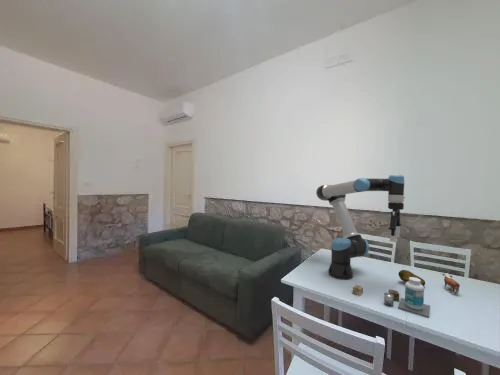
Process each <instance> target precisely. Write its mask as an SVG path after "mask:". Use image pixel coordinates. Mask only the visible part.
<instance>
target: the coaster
mask: <svg viewBox="0 0 500 375" xmlns="http://www.w3.org/2000/svg"><path fill="white" fill-rule="evenodd" d="M397 309H399V310H401V311H404V312H407V313H411V314H414V315H417V316H420V317H423V318H424V317H425V318H427V319H429V318H430V311H431V305H429V304H425V303H424V304H423V309H421V310H416V309H412V308H410V307H408V306H407V305H406V304H405V297H401V298H400V299H399V303H398V305H397Z"/></svg>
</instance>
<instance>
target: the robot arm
mask: <svg viewBox="0 0 500 375" xmlns="http://www.w3.org/2000/svg"><path fill="white" fill-rule="evenodd" d="M362 192H363V193H364V192H388V195H387V197H388V198H387V201H388V202H387V208H388V209H389V210H392V211H390V222H389V223H390V224H389V227H388V230H390V231H389V242H393V243H396V242H397V238H400V234H401V233H400V232H401V231H400V230H401V228H400V227H402V224H401V211H402V210H404V206H405V204H404V202H405V198H406V196H405V175H403V174H390V175H389V176H388V178H365V177H360V178H357V179H356V180H351V181H347V182H345V181H344V182H341V183H335V184H323V185H320V186H318V187H317V189H316V193H315V195H316V197H317V198H318V199H319V200H321V201H324V202H325V201H328V203H329V205H330V206H332V208H333V209H334V213H335V215H336V218H337V220H338V222H339V225H340V228H341V230H342V232H343V236H344V237H338V238H334V239H333V240H332V241H331V246H330V247H331V260H330V264H329V267H328V272H327V273H329V274H328V275H329V276H330V277H331V278H334V279H338V280H351V279H353V278H354V271H353V268H352V265H351V259H354V258H362V257H364V256H366V255H367V254H368V253H369V251H370V245H369V242H368V240H366V239H365V238H364V237H363V238H362V235H361V234H360V233H358V232H357V229H356V227H355V224H354V221H353V219H352V218H351V215H350V212H349V209H348V208H347V205H346V203H345V201H346V197H347V195H348V194H349V195H350V194H355V193H362Z"/></svg>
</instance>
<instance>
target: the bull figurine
mask: <svg viewBox="0 0 500 375" xmlns="http://www.w3.org/2000/svg"><path fill="white" fill-rule="evenodd" d="M441 275H442V276H444V279H443V280H444V286H443V289H447V286H448V287H449V291H452V292H451V295H455V294H458V293H460V283H459V282H458V281H456V280H454V279H453V275H450V274H449V273H447V272H446V273H442V274H441Z"/></svg>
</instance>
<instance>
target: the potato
mask: <svg viewBox="0 0 500 375" xmlns="http://www.w3.org/2000/svg"><path fill="white" fill-rule="evenodd" d="M397 274H398V277H399V279H400V280H401V281H402V282H404V283H406V282H408V281H409V277H415V278H418V279H420V280H421V283H420V284H421V285H423V287H425V285H426V281H425V280H424V278H422V277H420V276H418V275H416V274H415V273H413V272H411V270H410V271H409V270H408V269H407V270H406V269H402V270H400V271H399V272H398V273H397Z"/></svg>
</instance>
